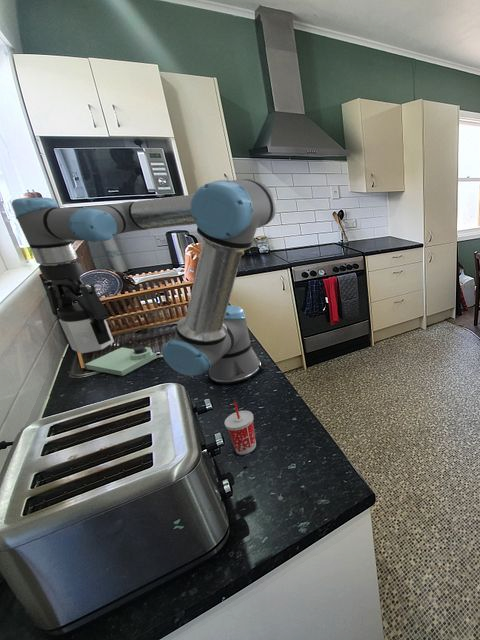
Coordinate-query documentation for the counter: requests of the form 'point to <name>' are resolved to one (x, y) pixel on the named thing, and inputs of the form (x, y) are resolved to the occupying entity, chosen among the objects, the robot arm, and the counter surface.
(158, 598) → the counter surface
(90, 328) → the jar
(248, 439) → the beverage cup
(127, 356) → the scale
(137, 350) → the tare button
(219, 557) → the counter surface
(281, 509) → the counter surface
